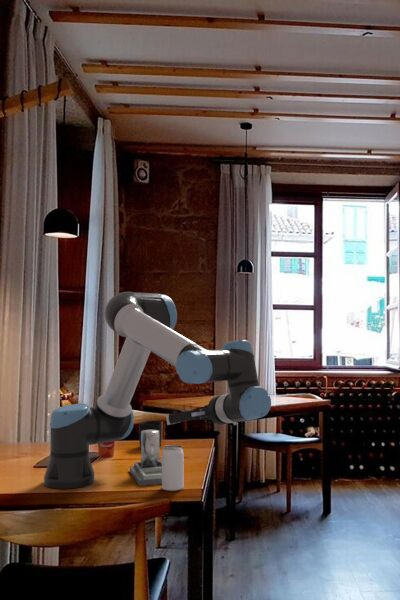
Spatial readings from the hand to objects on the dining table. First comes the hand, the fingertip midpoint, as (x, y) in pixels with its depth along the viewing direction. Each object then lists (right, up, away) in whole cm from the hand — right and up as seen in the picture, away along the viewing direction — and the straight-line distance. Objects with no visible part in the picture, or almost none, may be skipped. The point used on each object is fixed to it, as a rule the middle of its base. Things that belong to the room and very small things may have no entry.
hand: (188, 416), depth 156 cm
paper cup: (-32, -25, +45) cm, 60 cm away
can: (-5, -21, +1) cm, 22 cm away
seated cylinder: (-13, -21, +19) cm, 31 cm away
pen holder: (-17, -26, +61) cm, 68 cm away
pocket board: (-12, -22, +14) cm, 29 cm away
